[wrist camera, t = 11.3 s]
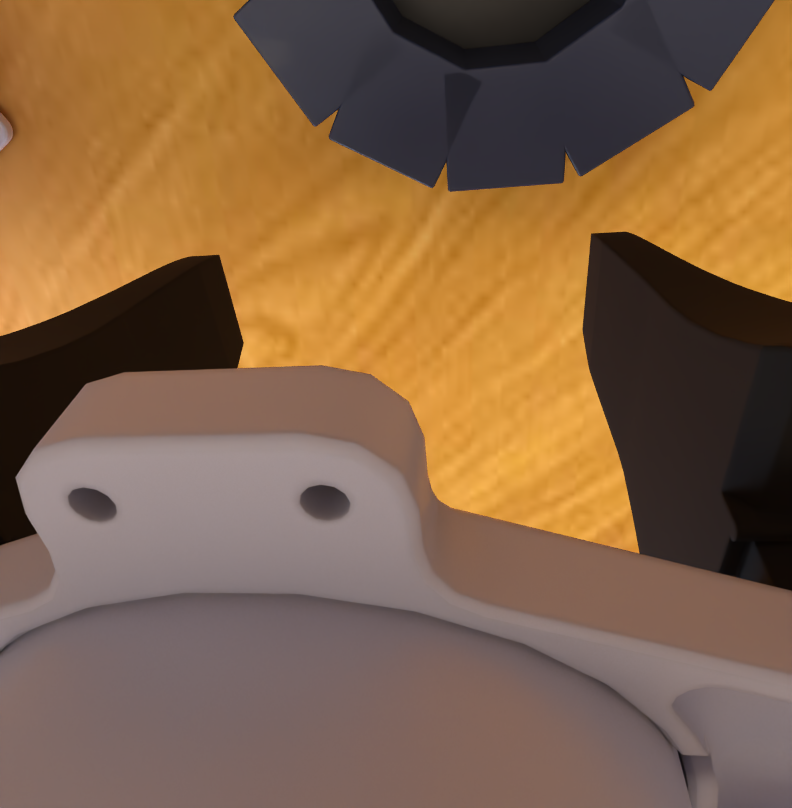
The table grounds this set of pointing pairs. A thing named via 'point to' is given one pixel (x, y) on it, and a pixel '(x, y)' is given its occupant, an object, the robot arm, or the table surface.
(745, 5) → the hoop
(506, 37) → the peg stand
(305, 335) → the table surface
